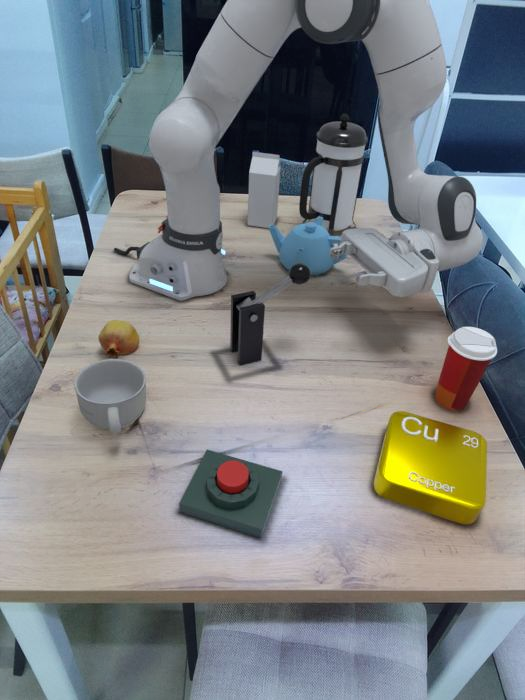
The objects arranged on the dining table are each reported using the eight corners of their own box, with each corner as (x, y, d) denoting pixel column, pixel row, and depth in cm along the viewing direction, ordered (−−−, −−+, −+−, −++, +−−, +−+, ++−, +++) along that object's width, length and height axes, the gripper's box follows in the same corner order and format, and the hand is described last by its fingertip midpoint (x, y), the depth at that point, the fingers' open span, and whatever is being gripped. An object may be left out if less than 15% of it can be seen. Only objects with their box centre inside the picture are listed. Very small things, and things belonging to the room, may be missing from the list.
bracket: (261, 342, 101) (264, 283, 92) (277, 367, 95) (283, 307, 86) (213, 353, 97) (212, 293, 89) (228, 380, 92) (228, 318, 83)
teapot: (292, 285, 118) (297, 244, 111) (265, 255, 128) (267, 215, 121) (347, 273, 123) (355, 233, 116) (317, 245, 133) (322, 207, 126)
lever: (307, 270, 91) (300, 255, 89) (317, 281, 89) (310, 266, 86) (241, 314, 91) (232, 300, 89) (249, 326, 89) (240, 312, 86)
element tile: (370, 495, 74) (376, 475, 71) (387, 424, 85) (393, 404, 82) (475, 530, 71) (487, 510, 68) (479, 451, 82) (489, 432, 79)
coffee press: (300, 213, 148) (312, 102, 129) (355, 218, 147) (375, 108, 128) (295, 240, 135) (307, 122, 116) (355, 247, 134) (377, 128, 115)
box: (179, 512, 71) (178, 495, 68) (207, 458, 78) (206, 441, 76) (261, 538, 68) (262, 522, 66) (281, 480, 76) (283, 463, 73)
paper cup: (472, 391, 93) (499, 331, 84) (472, 420, 87) (500, 359, 78) (429, 380, 95) (451, 320, 86) (426, 408, 89) (448, 346, 80)
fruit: (103, 309, 97) (85, 341, 89) (136, 305, 96) (122, 336, 88) (116, 338, 101) (100, 370, 93) (148, 334, 100) (135, 366, 92)
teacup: (89, 391, 88) (81, 357, 83) (152, 390, 89) (148, 355, 84) (73, 456, 77) (62, 420, 72) (145, 453, 78) (139, 418, 73)
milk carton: (272, 229, 139) (277, 160, 127) (247, 225, 140) (249, 156, 128) (276, 218, 145) (281, 151, 133) (252, 215, 146) (255, 147, 133)
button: (212, 488, 70) (212, 481, 69) (223, 464, 73) (223, 456, 72) (242, 498, 69) (242, 490, 68) (252, 472, 72) (252, 465, 71)
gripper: (379, 216, 102) (319, 225, 97) (445, 265, 88) (378, 279, 83) (373, 244, 106) (315, 254, 101) (435, 296, 92) (371, 310, 87)
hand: (344, 266), depth 92 cm, fingers open, 8 cm apart
